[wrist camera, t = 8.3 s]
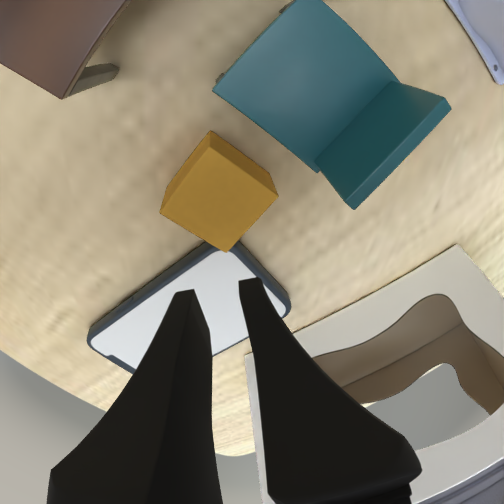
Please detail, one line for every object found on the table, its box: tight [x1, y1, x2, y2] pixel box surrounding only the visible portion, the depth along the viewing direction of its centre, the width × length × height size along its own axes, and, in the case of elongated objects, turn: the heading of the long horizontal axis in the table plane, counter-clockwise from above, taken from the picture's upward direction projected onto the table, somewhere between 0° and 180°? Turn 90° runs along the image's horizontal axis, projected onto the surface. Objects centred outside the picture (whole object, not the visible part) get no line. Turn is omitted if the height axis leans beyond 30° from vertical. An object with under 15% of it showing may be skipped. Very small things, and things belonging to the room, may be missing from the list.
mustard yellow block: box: [159, 131, 278, 253], centre depth 18 cm, size 4×4×3 cm
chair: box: [212, 0, 451, 210], centre depth 12 cm, size 6×6×8 cm
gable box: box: [244, 244, 504, 504], centre depth 19 cm, size 22×13×28 cm, turn 121°
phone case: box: [87, 241, 291, 374], centre depth 25 cm, size 9×2×16 cm
